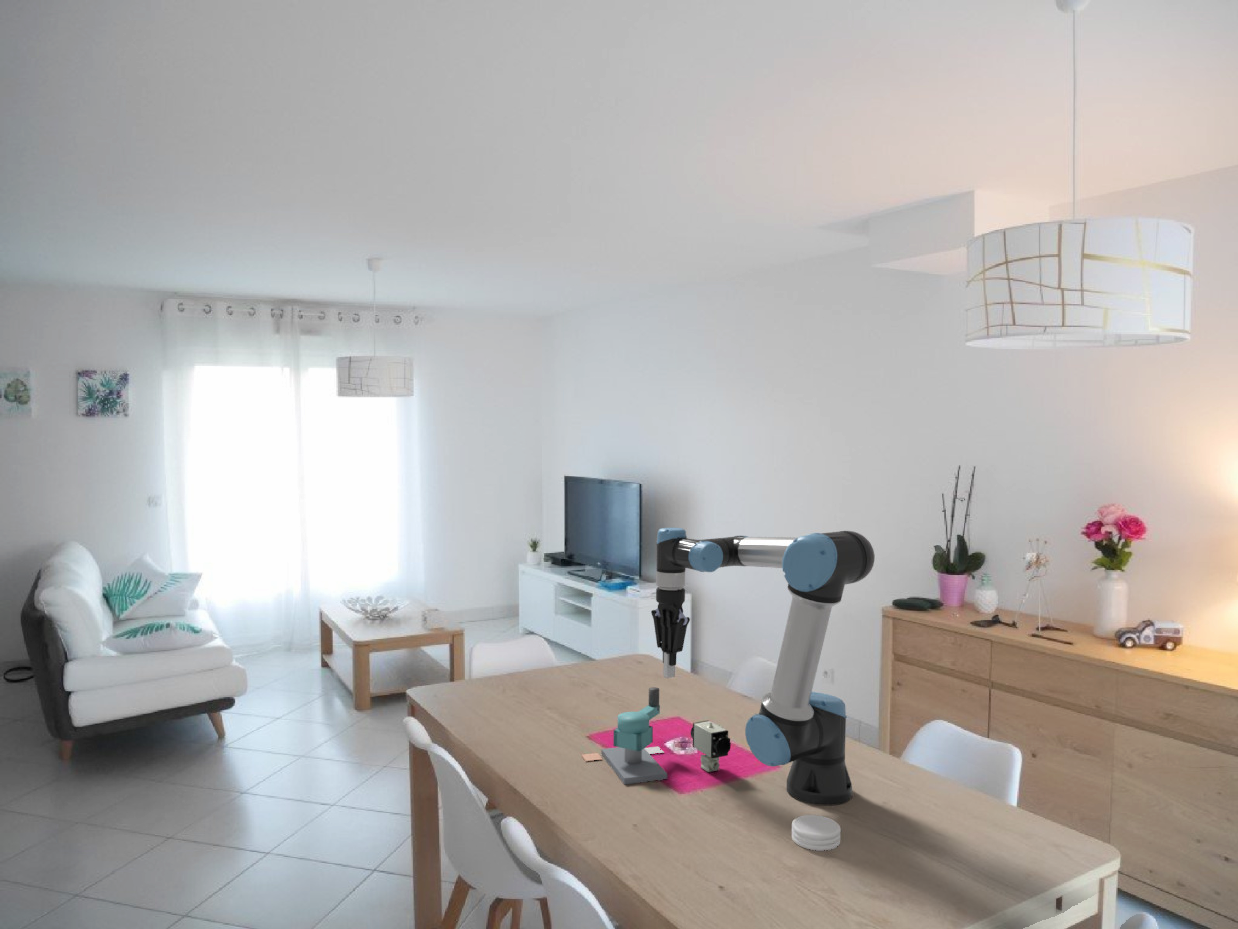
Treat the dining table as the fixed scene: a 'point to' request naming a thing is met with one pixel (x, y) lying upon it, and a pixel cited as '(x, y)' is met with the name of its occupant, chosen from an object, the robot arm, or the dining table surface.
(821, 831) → the coaster
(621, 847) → the dining table surface
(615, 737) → the crank handle
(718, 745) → the pneumatic valve
